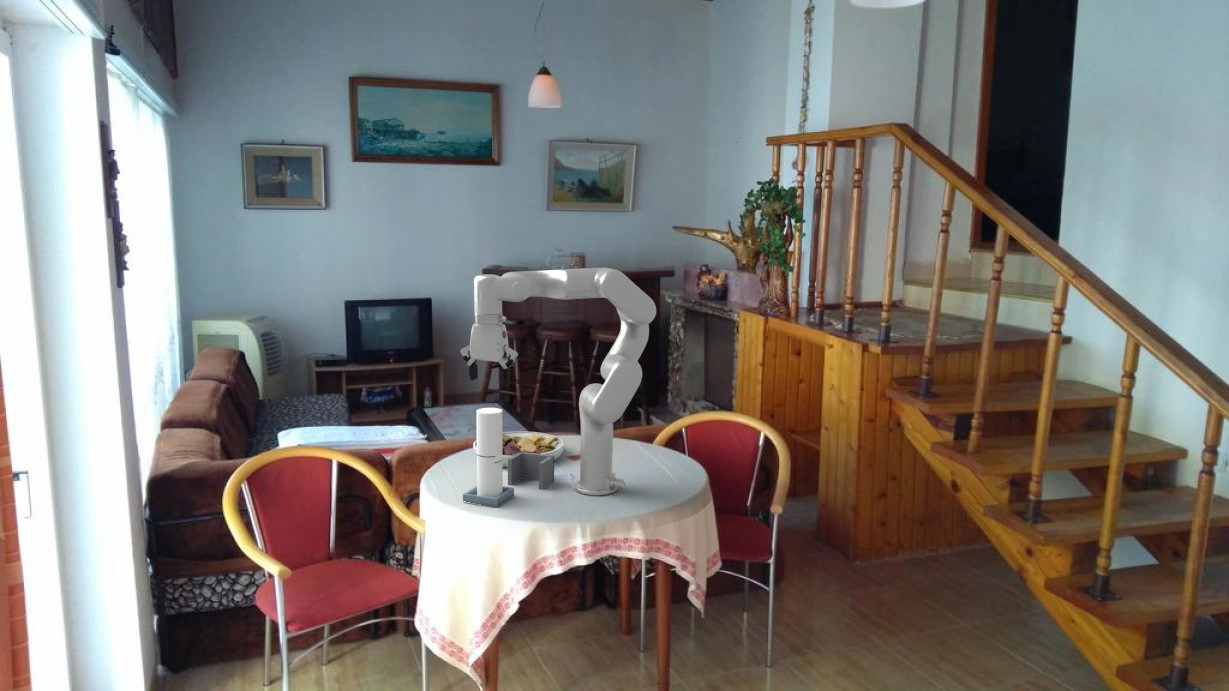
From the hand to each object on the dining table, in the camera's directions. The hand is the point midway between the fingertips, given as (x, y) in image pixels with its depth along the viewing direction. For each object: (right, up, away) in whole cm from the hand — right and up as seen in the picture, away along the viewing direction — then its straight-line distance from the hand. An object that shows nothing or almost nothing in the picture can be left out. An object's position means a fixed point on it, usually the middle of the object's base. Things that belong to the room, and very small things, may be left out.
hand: (489, 380), depth 233 cm
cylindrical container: (-1, -33, +5) cm, 34 cm away
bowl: (+3, -28, +47) cm, 55 cm away
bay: (+10, -32, +20) cm, 39 cm away
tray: (-1, -34, +5) cm, 34 cm away
